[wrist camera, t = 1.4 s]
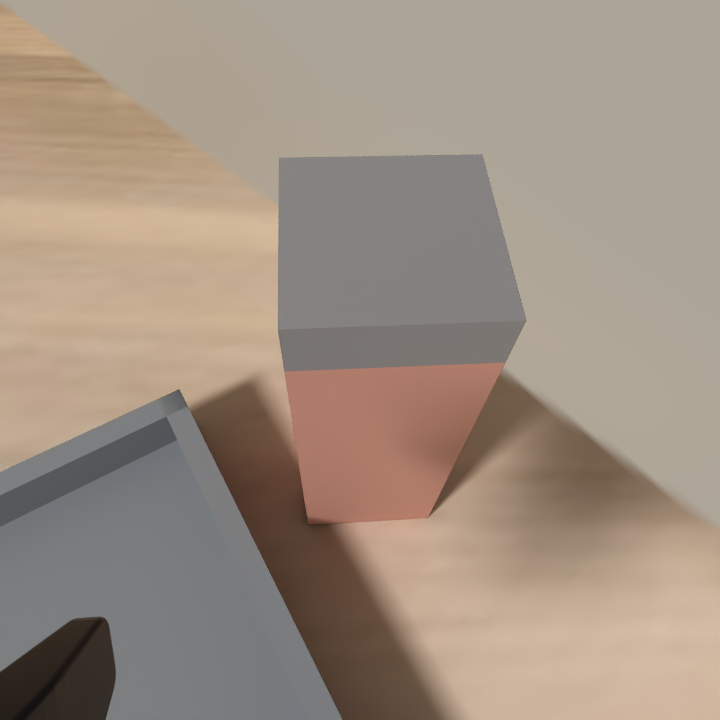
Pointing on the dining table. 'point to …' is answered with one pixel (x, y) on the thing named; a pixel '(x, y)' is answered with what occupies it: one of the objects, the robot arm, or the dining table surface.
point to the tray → (152, 574)
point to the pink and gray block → (389, 324)
